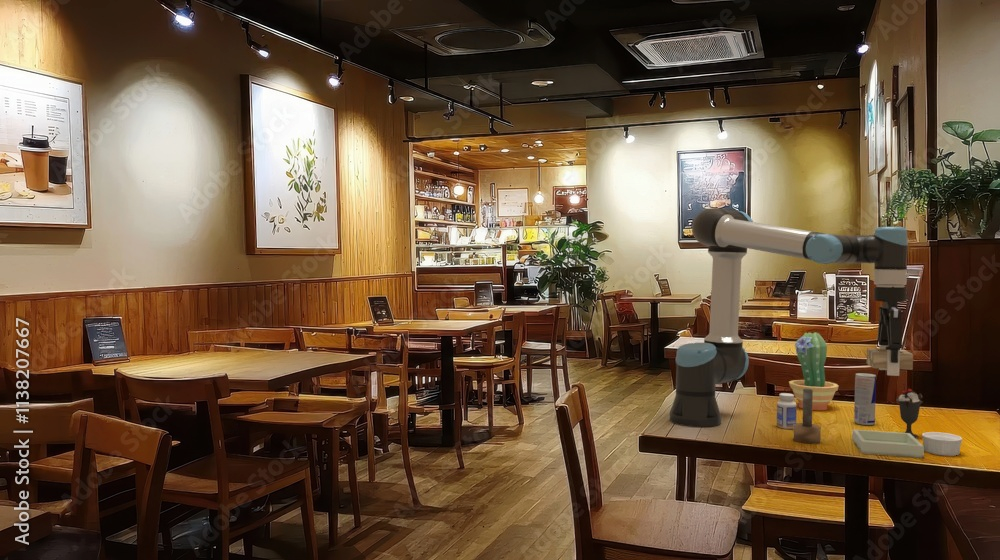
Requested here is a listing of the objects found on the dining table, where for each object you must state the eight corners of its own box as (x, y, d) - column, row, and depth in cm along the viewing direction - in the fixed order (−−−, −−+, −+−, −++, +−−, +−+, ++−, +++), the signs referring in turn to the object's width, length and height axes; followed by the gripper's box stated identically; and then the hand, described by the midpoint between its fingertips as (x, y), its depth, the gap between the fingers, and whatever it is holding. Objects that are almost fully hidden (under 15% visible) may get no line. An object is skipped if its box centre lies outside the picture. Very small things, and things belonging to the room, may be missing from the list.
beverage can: (877, 426, 217) (878, 376, 216) (857, 425, 218) (858, 375, 217) (871, 422, 222) (872, 373, 222) (852, 421, 223) (853, 372, 223)
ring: (912, 369, 185) (913, 354, 185) (873, 368, 187) (873, 352, 187) (904, 364, 193) (904, 349, 193) (866, 363, 196) (866, 348, 196)
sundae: (891, 436, 205) (893, 383, 205) (899, 432, 210) (901, 380, 209) (918, 440, 200) (919, 386, 200) (925, 436, 205) (926, 383, 205)
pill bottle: (797, 426, 216) (798, 393, 216) (794, 430, 211) (795, 396, 211) (778, 424, 219) (778, 392, 219) (775, 427, 214) (775, 394, 214)
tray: (862, 453, 187) (862, 441, 187) (852, 440, 200) (852, 429, 200) (923, 458, 183) (923, 446, 183) (909, 444, 196) (909, 433, 196)
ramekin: (952, 459, 182) (952, 442, 182) (915, 451, 190) (915, 434, 189) (967, 453, 188) (968, 437, 187) (931, 446, 195) (931, 430, 195)
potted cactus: (781, 402, 252) (782, 330, 251) (827, 403, 251) (828, 330, 250) (797, 412, 236) (799, 335, 235) (846, 412, 236) (848, 335, 235)
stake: (794, 442, 197) (795, 391, 197) (792, 436, 204) (793, 386, 203) (822, 444, 195) (823, 392, 195) (818, 438, 202) (819, 388, 201)
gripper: (917, 288, 178) (915, 379, 179) (896, 285, 199) (895, 367, 200) (883, 287, 181) (881, 378, 181) (866, 284, 201) (865, 366, 202)
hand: (888, 372), depth 191 cm, fingers closed on ring, 9 cm apart
